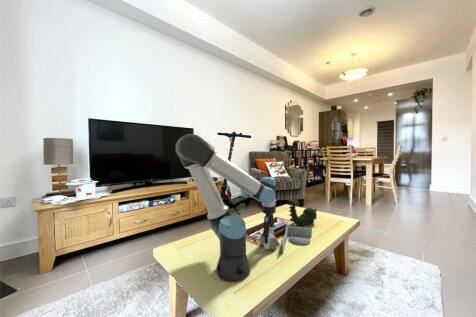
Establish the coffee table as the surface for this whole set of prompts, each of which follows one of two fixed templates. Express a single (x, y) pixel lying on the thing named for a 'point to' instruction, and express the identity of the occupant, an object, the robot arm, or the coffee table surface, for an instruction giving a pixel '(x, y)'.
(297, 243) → the slate coaster
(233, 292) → the coffee table surface
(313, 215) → the toy figurine
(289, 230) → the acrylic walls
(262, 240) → the ceramic mug
